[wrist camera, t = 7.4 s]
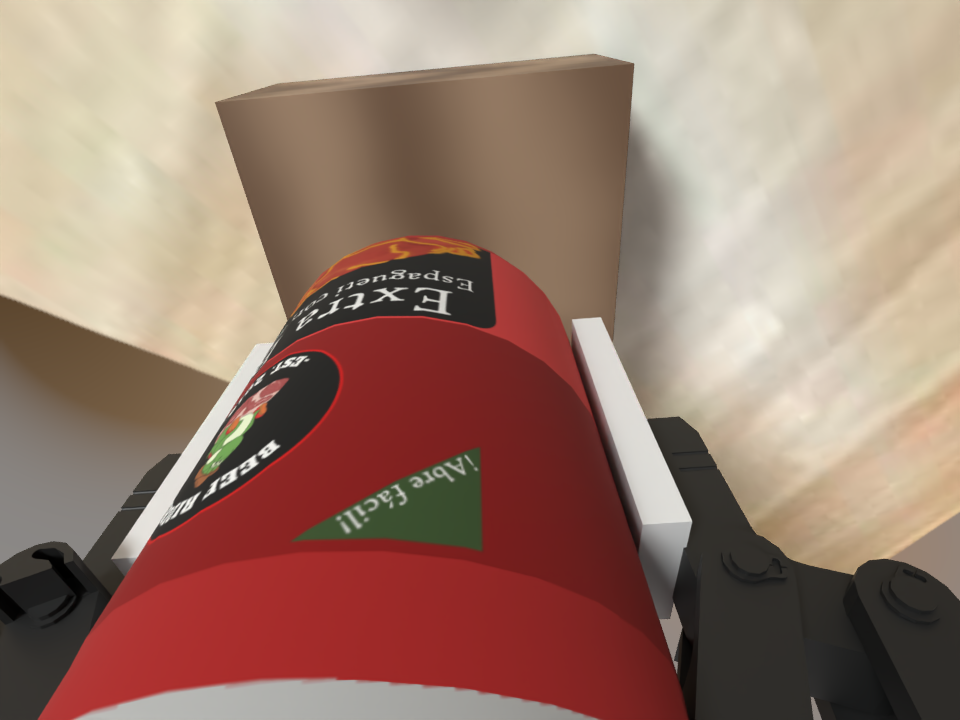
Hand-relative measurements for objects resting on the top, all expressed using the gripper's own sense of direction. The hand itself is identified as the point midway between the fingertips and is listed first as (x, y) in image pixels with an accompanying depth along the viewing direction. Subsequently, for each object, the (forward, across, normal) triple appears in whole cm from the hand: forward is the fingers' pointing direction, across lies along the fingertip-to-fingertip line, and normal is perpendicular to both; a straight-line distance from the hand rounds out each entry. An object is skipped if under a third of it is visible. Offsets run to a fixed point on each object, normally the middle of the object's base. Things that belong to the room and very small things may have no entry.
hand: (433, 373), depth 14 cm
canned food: (+1, 0, 0) cm, 1 cm away
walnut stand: (+12, 0, 0) cm, 12 cm away
